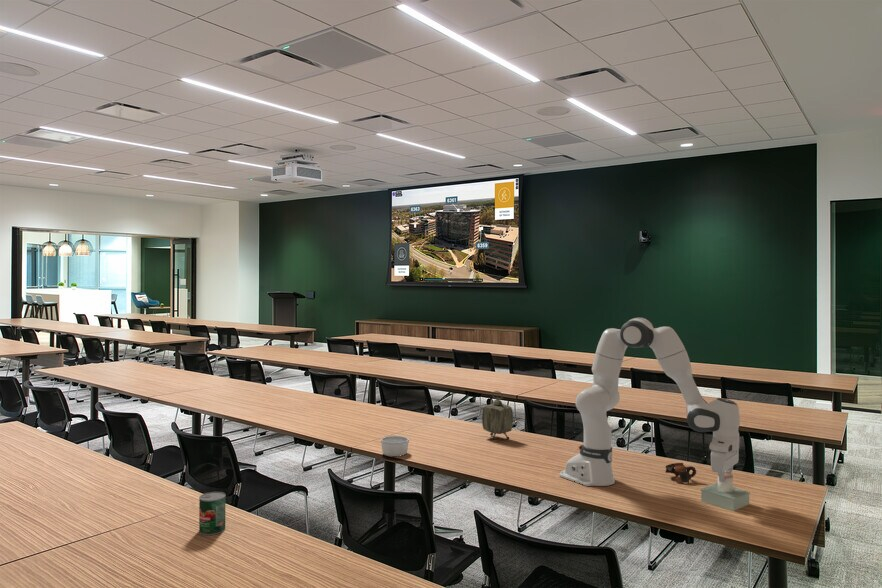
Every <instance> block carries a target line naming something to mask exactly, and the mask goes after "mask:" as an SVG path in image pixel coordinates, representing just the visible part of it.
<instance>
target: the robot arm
mask: <svg viewBox="0 0 882 588" xmlns="http://www.w3.org/2000/svg"><path fill="white" fill-rule="evenodd" d="M597 343H598V344H597V346H596V351H595V354H594V357H593V361H592V366H591V372H592V374H593V376H592V377H593V378H592V379H593V382H592V385H591V387H588V388H585V389H583V390H582V391H580V392H579V393H578V394H577V395H576V397H575V408H576V409H577V411H579V413H580V417H581V421H582V424H583V425H582V426H583V444H581V445H579V446H577V450H579V452H578V453H577V454H576V455H574V456H572V457H571V458H568V460H567V461H566V464H565V467H564V469H563V470H561V471H560V472H559V477H560V478H563V479H566V480H569V481H571V482H574V481H575V482H574V483H577V484H579V483H580V484H579V485H582V484H583V486H584V487H592V486H595V487H596V486H597V487H605V486H607V487H608V486H611V485H614V484H615V483H616V482H615V477H614V474H613V465H612V461H613V447H612V427H611V426H610V424H609V422H608V417H607V412H608V411H610V410H612V409H614V408H615V407H616V406H617V405H618V404H619V403H620V398H621V395H620V392H619V378H620V373H621V369H622V365H623V361H624V357H625V353H626V350H627V348H628V347H629V348H634V349H635V348H636V349H638V348H650V349H652V351H653V353H654V356H655V358H656V360H657V362H658V364H659V366H660V367H661V369H662V371H663V373H664V374H665V375H666V376H667V377H668V378H670V379H672V380H673V381H674V382H675V383H676V385H677V386H678V388H679V389H678V390H680V392H681V394H682V397H683V399H684V401H685V404H686V423H687V425H688V426H689V428H690V429H692V430H693V431H694V432H698V433H709V432H710V433H711V432H712V438H711V441H710V443H709V446H708V447H709V450H710V451H711V452H710V469H711V471H712V472H714V473H716V474H717V477H718V476H719V481H720V482H725V475H724V473H725V472H726V473H730V474H732V472H733V469H734V466H735V465H736V464H738V463H739V459H740V458H739V457H740V454H739V452H740V451H739V450H740V432H739V427H740V422H741V421H740V418H741V417H740V408H739V405H738V403H736V402H735V401H734V400H730V399H728V398H723V397H717V398H715V399H714V400H712V401H710V402H707V401H706V400H705V399H704V398H703V396H702V394H701V393H700V392H701V391H700V390H699V388H698V386H697V384H696V381H695V379H694V377H693V373H692V366H691V364H692V363H691V361H690V357H689V355H688V351H687V350H686V348H685V345H684V343H683V342H682V340H681V338H680V337H679V335H678V333H677V332H676V331H675V329H673V328H672V327H671V326H659V327H655V325H654V323H653V322H652V321H651V320H650V319H648V318H647V317H642V316H638V317H634V318H631V319H629V320H627V321H626V322H625V323H624V324H622V326H621V328H620V329H618V328H613V327H611V328H606V329H605V330H604V331H603V332H602V334H601V337H600V338H599V341H598V342H597ZM732 475H733V474H732Z"/></svg>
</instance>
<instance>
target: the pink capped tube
mask: <svg viewBox="0 0 882 588" xmlns="http://www.w3.org/2000/svg"><path fill="white" fill-rule="evenodd" d="M724 475H725V482H720V481H719V476H718V475H717V483H718V490H719V491H721V492H726V493H731V492H733V487H734V483H733V481H734V480H733V479H734V474H730V473H726V471H725V473H724Z"/></svg>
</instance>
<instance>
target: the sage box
mask: <svg viewBox="0 0 882 588" xmlns="http://www.w3.org/2000/svg"><path fill="white" fill-rule="evenodd" d="M700 492H701V493H700V494H701V496H700V501H701V502H704V503H707V504H710V505H711V506H712V505H713V506H716V507H718V508H722V509H726V510H729V511H732V512H734V511H737V510H739V509H741V508H744V507H746V506H748V505H750V494H751V491H747V490H745V489H741V488H737V487H734V486H733V492H731V493H726V492H721V491H719V490H718V482H716V483H714V484H711V485H707V486H705V487H703V488H700Z"/></svg>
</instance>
